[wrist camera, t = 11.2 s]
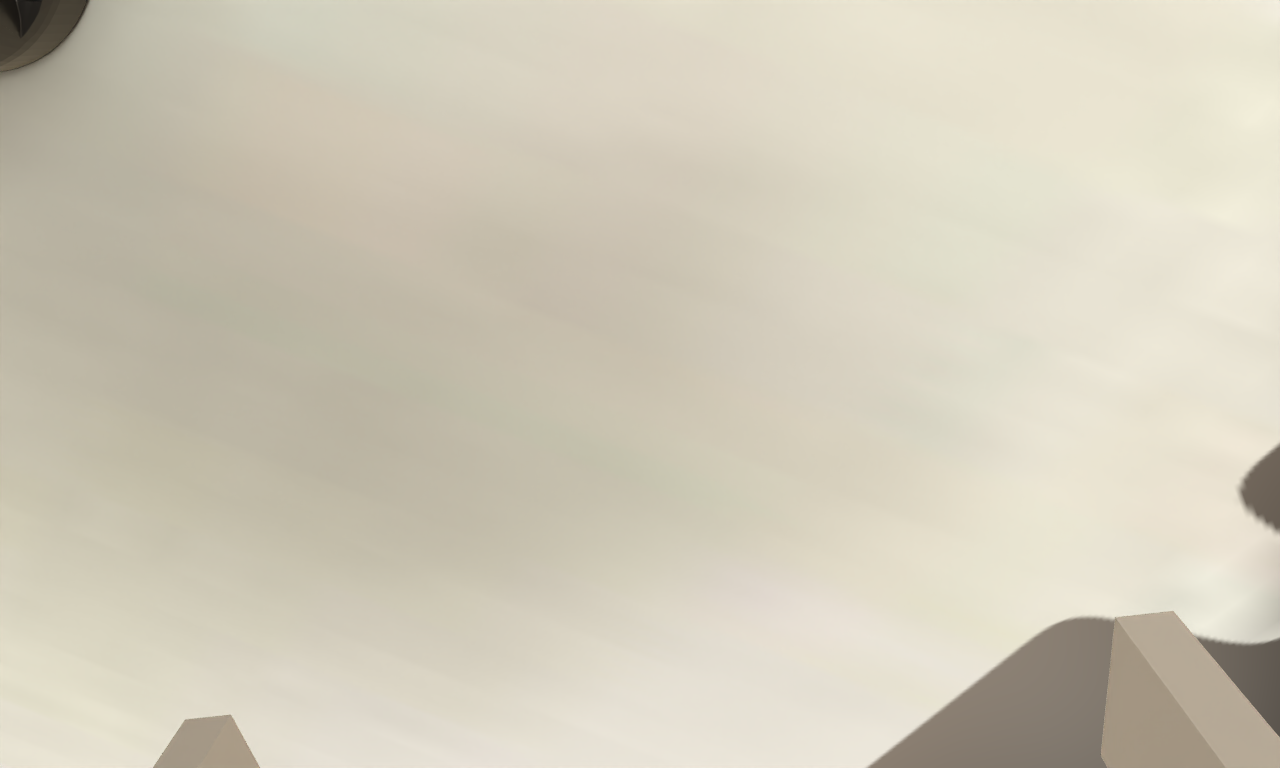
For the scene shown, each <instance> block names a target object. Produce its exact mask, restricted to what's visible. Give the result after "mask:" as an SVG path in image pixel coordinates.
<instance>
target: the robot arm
mask: <svg viewBox="0 0 1280 768" xmlns="http://www.w3.org/2000/svg"><path fill="white" fill-rule="evenodd" d="M86 1H87V0H0V72H1V71H8V70H12V69H16V68H19V67H22V66H25V65H27V64H30V63H32V62H34V61H36V60H38V59H40V58H41V57H43V56H45V55H46V54H47V53H49V52H50V51H51V50H53V49H54V48H55V47H56V46H57V45H58V44H60V43H61V42H62V41H63V39H64V38H65V37H66V36H67V35H68V34H69V32H70V31H71V30H72V28H73V27H74V25H75V24H76V22H77V20H78V19H79V17H80V15H81V13H82V11H83V9H84V6H85V4H86ZM1101 757H1102V758H1103V760H1104V762H1105V763H1106V765H1107V767H1108V768H1280V738H1279V736H1278V735H1277V734H1276V733H1275V732H1274V731H1273V729H1272V728H1271V727H1270V726H1269V725H1268V724H1267V722H1266V721H1265V720H1264V719H1263V717H1262V716H1261V715H1260V714H1259V713H1258V711H1257V710H1256V709H1255V708H1254V707H1253V705H1252V704H1251V703H1250V702H1249V701H1248V699H1247V698H1246V697H1245V696H1244V695H1243V694H1242V692H1241V691H1240V690H1239V689H1238V688H1237V686H1236V685H1235V684H1234V683H1233V682H1232V680H1231V679H1230V678H1229V677H1228V676H1227V674H1226V673H1225V672H1224V671H1223V670H1222V668H1221V667H1220V666H1219V665H1218V664H1217V663H1216V661H1215V660H1214V659H1213V658H1212V657H1211V655H1210V654H1209V653H1208V652H1207V651H1206V650H1205V648H1204V647H1203V646H1202V645H1201V644H1200V642H1199V641H1198V640H1197V639H1196V637H1195V636H1194V635H1193V634H1192V633H1191V632H1190V630H1189V629H1188V628H1187V627H1186V626H1185V624H1184V623H1183V622H1182V621H1181V620H1180V618H1179V617H1178V616H1177V615H1176V614H1175V612H1174V611H1169V612H1160V613H1151V614H1142V615H1133V616H1124V617H1115V624H1114V634H1113V643H1112V653H1111V663H1110V672H1109V682H1108V692H1107V701H1106V711H1105V720H1104V730H1103V739H1102V748H1101ZM153 768H260V767H259V765H258V763H257V761H256V760H255V758H254V756H253V754H252V752H251V751H250V749H249V747H248V745H247V743H246V741H245V740H244V738H243V736H242V734H241V732H240V730H239V729H238V727H237V725H236V723H235V721H234V719H233V718H232V716H231V715H224V716H215V717H206V718H197V719H188V720H185V721H184V722H183V724H182V725H181V727H180V728H179V730H178V731H177V733H176V734H175V736H174V737H173V739H172V740H171V742H170V743H169V745H168V746H167V748H166V749H165V751H164V752H163V753H162V755H161V756H160V758H159V759H158V761H157V762H156V764H155V765H154V767H153Z"/></svg>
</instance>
